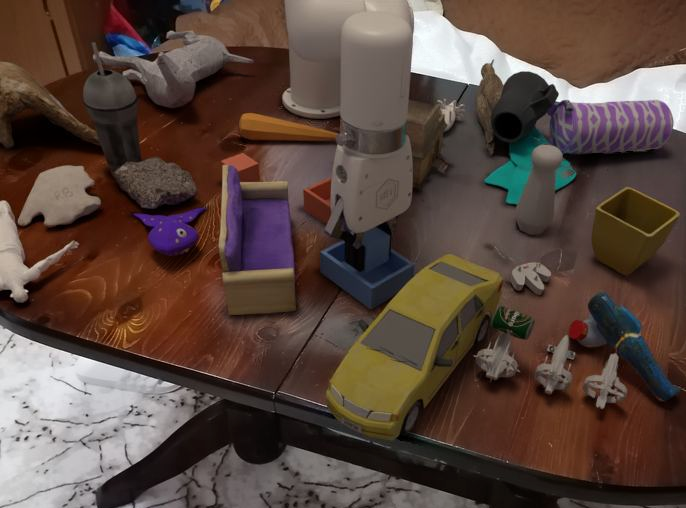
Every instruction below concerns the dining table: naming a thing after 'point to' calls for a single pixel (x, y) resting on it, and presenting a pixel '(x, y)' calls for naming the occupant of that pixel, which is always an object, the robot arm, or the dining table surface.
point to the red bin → (319, 200)
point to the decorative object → (60, 197)
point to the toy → (171, 232)
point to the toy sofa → (256, 246)
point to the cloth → (523, 167)
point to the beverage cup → (113, 114)
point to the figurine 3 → (629, 343)
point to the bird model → (488, 101)
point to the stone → (155, 182)
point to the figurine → (19, 257)
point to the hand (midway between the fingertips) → (367, 258)
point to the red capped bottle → (586, 333)
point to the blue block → (375, 248)
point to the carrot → (279, 129)
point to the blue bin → (366, 275)
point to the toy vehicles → (552, 370)
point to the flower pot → (630, 229)
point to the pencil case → (609, 126)
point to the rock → (33, 104)
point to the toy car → (413, 347)
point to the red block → (244, 167)
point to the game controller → (529, 276)
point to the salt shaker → (539, 191)
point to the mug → (521, 105)
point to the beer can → (512, 323)
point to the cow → (450, 112)
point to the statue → (176, 67)
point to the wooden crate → (425, 141)
